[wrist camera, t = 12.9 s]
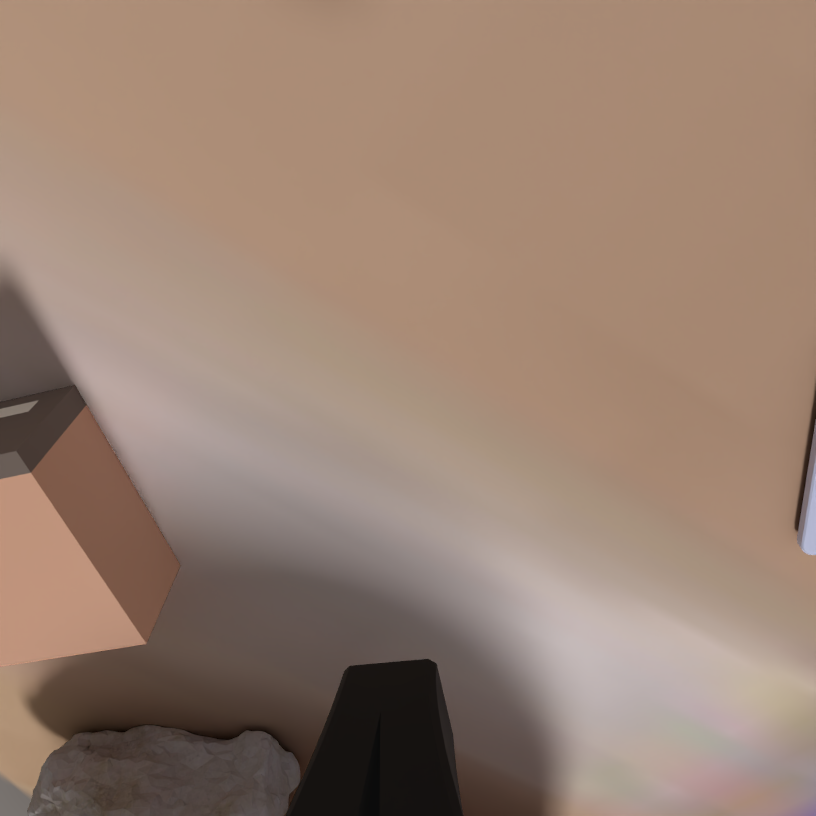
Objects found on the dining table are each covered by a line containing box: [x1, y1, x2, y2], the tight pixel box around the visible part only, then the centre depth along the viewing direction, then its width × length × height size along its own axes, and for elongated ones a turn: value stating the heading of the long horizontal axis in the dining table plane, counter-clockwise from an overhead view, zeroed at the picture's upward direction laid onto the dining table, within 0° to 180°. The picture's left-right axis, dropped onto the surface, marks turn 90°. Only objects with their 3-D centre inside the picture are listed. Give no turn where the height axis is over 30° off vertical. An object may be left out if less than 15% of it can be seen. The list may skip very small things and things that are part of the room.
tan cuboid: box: [0, 385, 180, 667], centre depth 21 cm, size 3×5×7 cm
